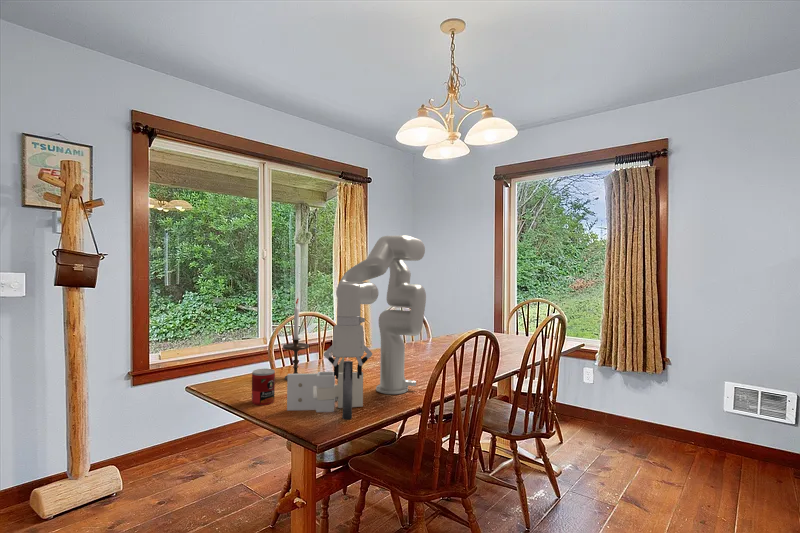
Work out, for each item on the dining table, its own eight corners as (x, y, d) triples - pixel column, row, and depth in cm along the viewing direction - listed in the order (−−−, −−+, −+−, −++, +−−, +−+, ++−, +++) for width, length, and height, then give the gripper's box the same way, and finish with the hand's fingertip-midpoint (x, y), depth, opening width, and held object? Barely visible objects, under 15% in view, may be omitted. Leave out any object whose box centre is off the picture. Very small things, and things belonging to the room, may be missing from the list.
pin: (351, 416, 137) (352, 360, 137) (351, 419, 134) (352, 362, 134) (342, 416, 137) (343, 360, 137) (342, 419, 134) (343, 363, 134)
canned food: (262, 407, 145) (262, 374, 145) (246, 402, 149) (247, 371, 149) (279, 401, 152) (279, 370, 152) (264, 397, 156) (264, 367, 156)
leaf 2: (361, 403, 150) (361, 370, 150) (363, 408, 144) (364, 374, 144) (316, 406, 146) (316, 372, 146) (317, 411, 140) (317, 376, 140)
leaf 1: (334, 406, 147) (335, 371, 147) (333, 411, 141) (334, 375, 141) (288, 407, 145) (289, 372, 146) (285, 412, 140) (286, 376, 140)
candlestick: (313, 377, 184) (315, 297, 184) (295, 383, 175) (296, 298, 175) (295, 374, 190) (297, 296, 190) (277, 379, 180) (278, 297, 180)
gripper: (375, 320, 140) (374, 374, 140) (322, 320, 139) (321, 375, 139) (376, 323, 133) (375, 380, 133) (320, 323, 131) (319, 381, 131)
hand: (347, 377), depth 136 cm, fingers open, 6 cm apart
